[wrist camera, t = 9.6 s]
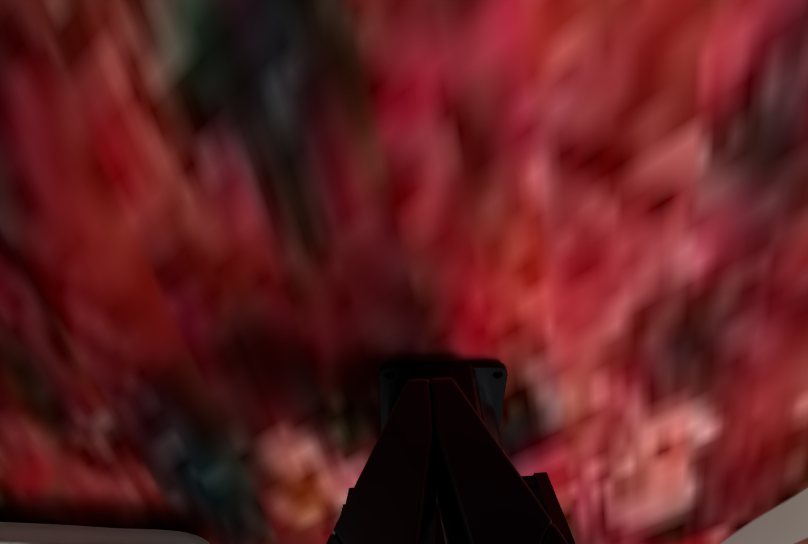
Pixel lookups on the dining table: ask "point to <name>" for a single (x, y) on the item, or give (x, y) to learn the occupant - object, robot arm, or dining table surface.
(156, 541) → the salad plate
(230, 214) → the dining table surface
